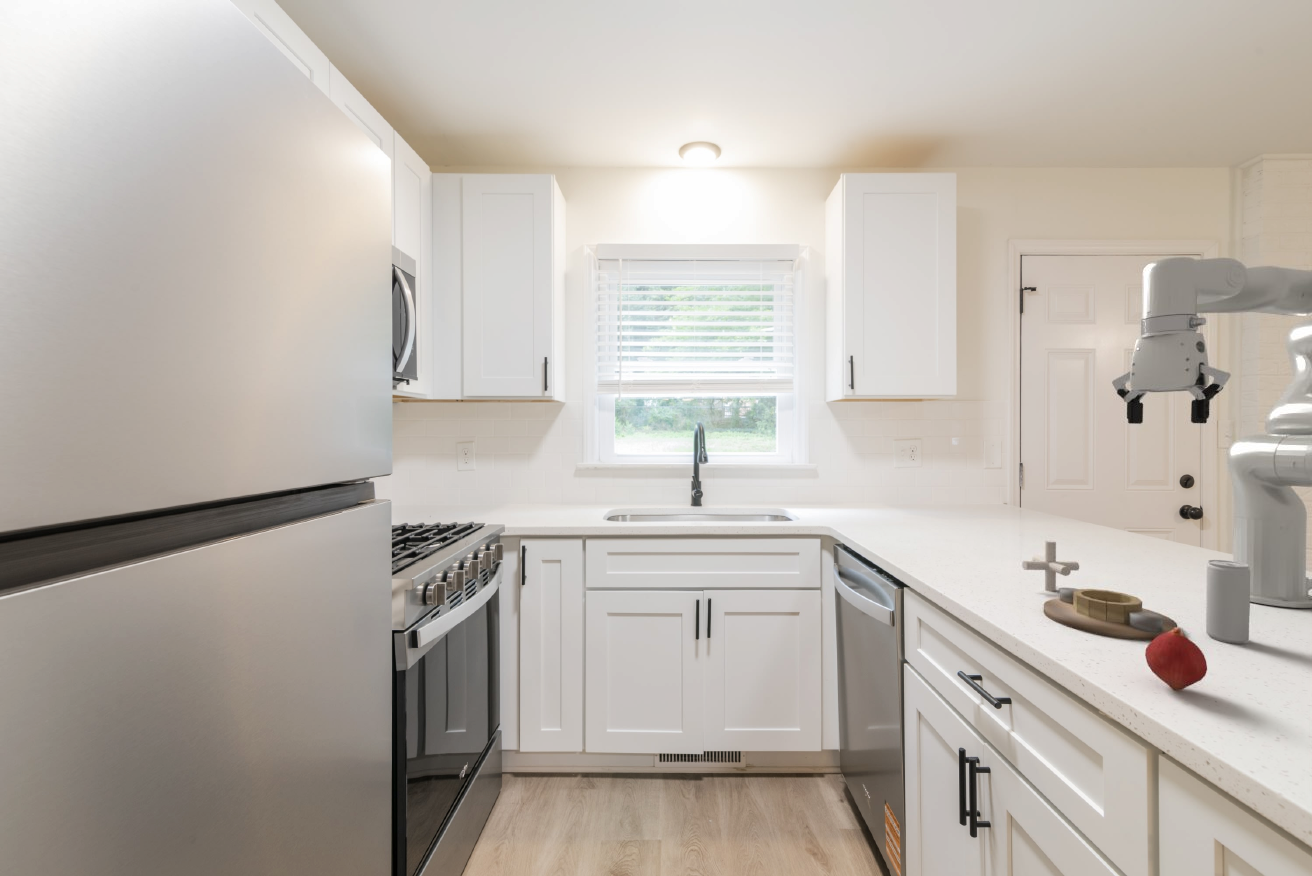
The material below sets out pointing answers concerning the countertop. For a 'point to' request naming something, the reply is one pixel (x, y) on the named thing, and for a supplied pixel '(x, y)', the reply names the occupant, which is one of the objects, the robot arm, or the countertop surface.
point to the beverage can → (1228, 601)
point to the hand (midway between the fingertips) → (1165, 423)
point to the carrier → (1107, 614)
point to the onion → (1176, 659)
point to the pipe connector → (1050, 565)
